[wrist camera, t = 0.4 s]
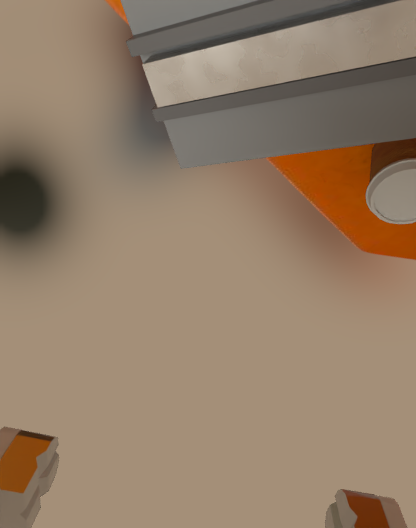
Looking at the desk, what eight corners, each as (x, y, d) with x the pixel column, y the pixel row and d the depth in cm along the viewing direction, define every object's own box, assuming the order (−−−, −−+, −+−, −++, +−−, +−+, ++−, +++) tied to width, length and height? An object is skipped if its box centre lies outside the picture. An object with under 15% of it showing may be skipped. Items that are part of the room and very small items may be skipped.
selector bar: (151, 53, 26) (141, 64, 24) (689, -84, 16) (722, -81, 15) (165, 96, 28) (157, 108, 27) (651, -4, 19) (677, 5, 17)
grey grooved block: (197, -86, 39) (90, -55, 21) (401, -165, 33) (500, -218, 14) (231, 75, 51) (180, 186, 33) (387, 42, 44) (432, 158, 26)
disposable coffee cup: (447, 134, 50) (471, 182, 42) (401, 186, 57) (414, 236, 49) (386, 109, 49) (398, 153, 41) (347, 164, 57) (351, 211, 49)
